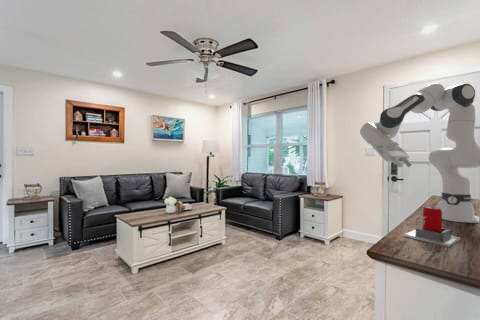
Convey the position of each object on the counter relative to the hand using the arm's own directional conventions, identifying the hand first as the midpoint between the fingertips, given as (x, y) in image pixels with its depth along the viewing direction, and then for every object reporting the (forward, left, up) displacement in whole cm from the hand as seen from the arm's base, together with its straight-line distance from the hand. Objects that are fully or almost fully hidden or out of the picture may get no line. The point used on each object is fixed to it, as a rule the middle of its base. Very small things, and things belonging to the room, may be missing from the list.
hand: (406, 166), depth 119 cm
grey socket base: (+10, +13, -29) cm, 34 cm away
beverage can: (+10, +14, -29) cm, 33 cm away
